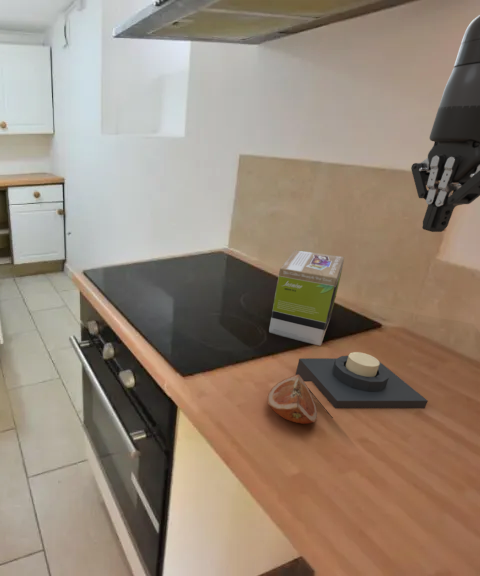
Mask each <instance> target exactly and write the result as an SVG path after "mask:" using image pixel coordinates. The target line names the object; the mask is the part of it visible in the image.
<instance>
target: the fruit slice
mask: <svg viewBox="0 0 480 576" xmlns="http://www.w3.org/2000/svg"><path fill="white" fill-rule="evenodd" d="M308 388H309V387H308V386H307V384H306V382H304V380H303V379H302V378H301V376H300V375H299V374H298V375H296V374H294V375H292V376H288V377H287V378H284V379H282V380H281V381H279V382H277V383H276V384H275V385H274V386H273V387H272V388H271V389H270V391H269V392H268V395H267V403H268V405H269V407H270V409H272V411H273V412H274V413H276V414H277V415H278V416H280V417H281V418H283V419H285V420H287V421H290V422H293V423H296V424H307V425H308V424H312V423H315V422H317V419H318V409H317V406H316V403H315V400H314V398H313V397H314V396H313V394H312V393H311V392H310V391H311V390H310V388H309V389H308ZM309 390H310V391H309Z"/></svg>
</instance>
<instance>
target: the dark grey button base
mask: <svg viewBox="0 0 480 576" xmlns="http://www.w3.org/2000/svg"><path fill="white" fill-rule="evenodd" d="M348 356H349V355H341V356H339V357H336V358H335V357H333V358H331V357H329V358H324V357H323V358H321V357H319V358H313V357H312V358H311V357H310V358H306V357H305V358H304V357H303V358H301V357H300V358H299V359H298V363H297V366H296V370H295V375H298V374H299V375H300V376H301V378H302V379H303V380H304V382H305V383H306V382H312V384H313V385H314V386H315V388H317V390H318V391H319V392H320V393H321V394H322V395H323V397H325V399H326V400H327V401H328V402H329V403H330V405H332V407H333V408H334V409H425V408H426V406H427V404H428V399H427V398H425V397H424V396H423V395H421V394H420V393H419V392H418V391H416V390H415V389H414V388H413V387H411V386H410V385H409V384H408V383H407V382H405V381H404V380H403V379H402V378H401V377H399V376H398V375H397V374H396V373H395V372H394V371H392V370H391V369H390V368H388V367H387V366H386V365H385V364H383V363H382V362H381V361H379V362H380V365H379V368H378V371H377V374H376V376H375V377H365V376H361V375H357V374H355V373H353V372H351V371H349V370H348V369H347V368H346V362H347V359H348ZM308 389H309V391H310V393H311V395H312V397H314V398H315V400H316V401H317V402H318V403H319V404H320V406H321V407H322V408H323V409H324V411H326V413H327V414H328V415H329V416H330V418H331V419H334V417H333V416H332V415H331V413H330V412H329V411H328V410H327V409H326V408H325V406H324V405H323V404H322V403H321V402H320V400H319V399H318V398H317V397H316V395H315V394H314V393H313V392H312V391H311V390H310V388H309V387H308Z"/></svg>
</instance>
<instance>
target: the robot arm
mask: <svg viewBox="0 0 480 576" xmlns="http://www.w3.org/2000/svg"><path fill="white" fill-rule="evenodd" d="M456 55H457V56H456V59H455V62H454V64H453V68H452V71H451V72H450V75H449V78H448V79H447V82H446V84H445V87H444V89H443V93H442V96H441V98H440V102H439V105H438V109H437V112H436V115H435V118H434V121H433V124H432V128H431V131H430V134H429V140H430V141H431V142H434V143H433V145H432V147H431V148H430V150H429V151H428V154H427V158H425V159H424V160H422V161H421V162H414V163H413V164H412V165H411V167H410V170H411V173H412V177H413V182H414V186H415V189H416V193H417V197H418V199H423V200H425V203H426V205H427V207H426V210H425V213H424V217H423V219H422V226H421V227H422V229H423V230H425V231H427V232H430V233H431V232H432V233H441V232H443V231H445V229H446V228H447V227H448V226H449V223H450V220H451V217H452V215H453V211H454V209H455V208H456V207H457V206H462V205H470V204H471V203H473V202H474V201H475V200H476V199H478V198H479V197H480V14H478V15H477V16H476V17H475V18H473V20H471V22H470V23H469V24H468V26H467V27H466V30H465V31H464V34H463V37H462V40H461V43H460V46H459V48H458V52H457V54H456Z"/></svg>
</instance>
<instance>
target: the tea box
mask: <svg viewBox="0 0 480 576" xmlns="http://www.w3.org/2000/svg"><path fill="white" fill-rule="evenodd" d="M344 262H345V256H340V255H333V254H326V253H318V252H312V251H311V252H310V251H305V250H303V251H302V250H297V249H295V250H293V252H291V254H290V255H289V257H288V258H287V259H286V261H285V262H284V263H282V266H281V267H280V268H279V271H278V276H277V277H278V278H277V282H276V288H275V293H274V300H273V305H272V310H271V311H272V312H271V316H270V322H269V328H268V332H269V334H272V335H277V336H280V337H284V338H287V339H292V340H295V341H300V342H302V343H307V344H311V345H314V346H319V347H320V346H322V344H323V341H324V337H325V335H326V331H327V329H328V326H329V323H330V320H331V318H332V313H333V309H334V306H335V302H336V301H335V300H336V297H337V294H338V289H339V286H340V281H341V278H342V272H343V267H344Z"/></svg>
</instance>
